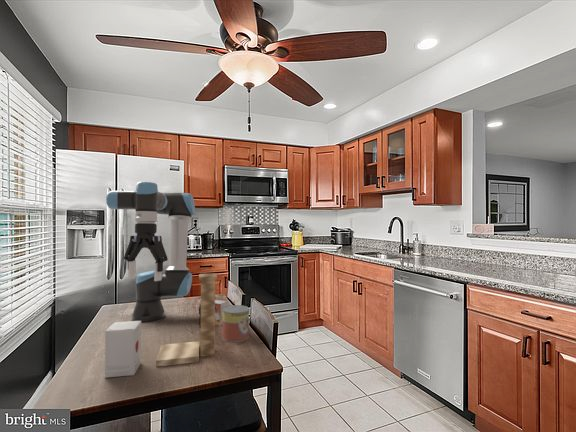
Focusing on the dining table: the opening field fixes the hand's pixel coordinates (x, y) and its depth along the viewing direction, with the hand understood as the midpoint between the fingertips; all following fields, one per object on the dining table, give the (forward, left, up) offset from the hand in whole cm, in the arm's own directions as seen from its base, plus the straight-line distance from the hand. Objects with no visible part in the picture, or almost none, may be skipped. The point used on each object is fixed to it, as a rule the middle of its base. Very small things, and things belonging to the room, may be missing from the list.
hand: (144, 279), depth 118 cm
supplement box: (+6, -12, -28) cm, 31 cm away
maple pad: (+13, +5, -27) cm, 31 cm away
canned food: (+19, +30, -28) cm, 45 cm away
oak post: (+20, +12, -27) cm, 36 cm away
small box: (0, +39, -28) cm, 48 cm away
